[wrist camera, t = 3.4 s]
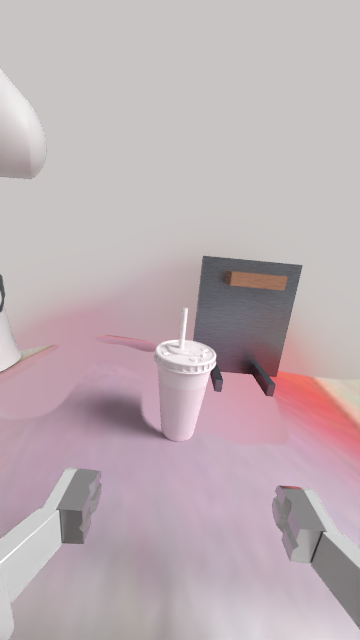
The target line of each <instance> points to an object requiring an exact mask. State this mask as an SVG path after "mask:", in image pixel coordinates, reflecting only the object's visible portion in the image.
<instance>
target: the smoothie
mask: <svg viewBox="0 0 360 640" xmlns="http://www.w3.org/2000/svg"><path fill="white" fill-rule="evenodd" d="M187 312H188V308H182V317H181V327H180V337H179V340H170V341H166V342H163V343H160V344H159V345H158V346H157V347H156V349H155V356H154V359H155V361H156V363H157V364H158V377H159V379H158V380H159V395H160V411H161V427H162V432H163V434H164V435H165V436H166V437H167V438H168V439H170V440H172V441H177V442H181V441H185V440H188V439H189V438H190V437H191V436H192V435H193V432H194V428H195V425H196V421H197V418H198V414H199V411H200V407H201V403H202V400H203V396H204V393H205V390H206V386H207V382H208V379H209V376H210V372H211V370H212V369H213V368H214V367H215V365H216V353H215V351H214V350H213V349H211V348H210V347H208V346H206V345H204V344H202V343H198V342H194V341H188V340H185V331H186V322H187Z"/></svg>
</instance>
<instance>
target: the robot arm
mask: <svg viewBox="0 0 360 640" xmlns="http://www.w3.org/2000/svg"><path fill="white" fill-rule="evenodd" d="M46 152H47V150H46V140H45V136H44V132H43V129H42V126H41V124H40V121H39V119H38V117H37V116H36V114H35V112H34V110H33V109H32V107H31V105H30V104H29V102H28V101H27V100H26V98H25V97H24V96H23V95H22V94H21V93H20V92H19V91H18V90H17V88H16V87H15V86H14V85H13V84H12V82H11V81H10V80H9V79H8V78H7V76H6V75H5V74H4V72H3V71H2V69H1V68H0V177H9V178H23V179H32V178H34V177H35V176H36V175H37V174H38V173H39V172H40V171H41V169H42V168H43V166H44V163H45V159H46ZM4 297H5V292H4V282H3V279H2V276H1V275H0V372H1V371H3V370H5V369H7V368H9V367H10V366H12V365H13V364H15V363H16V362H17V361H18V360H19V359H20V358H21V352H20V351H19V349H18V347H17V345H16V341H15V339H14V337H13V334H12V332H11V328H10V325H9V321H8V318H7V315H6V311H5V308H4V305H3V304H4ZM100 479H101V471H96V470H87V469H79V468H67V469H66V470H65V471H64V472H63V474H62V475H61V477H60V479H59V480H58V482H57V484H56V486H55V487H54V489H53V491H52V492H51V494H50V496H49V497H48V499H47V501H46V502H45V504H44V506H43V507H42V508H38V509H37V510H36V511H34V512H33V513H32V514H31V515H29V516H28V517H27V518H26V519H24V520H23V521H22V522H21V523H19V524H18V525H17V526H16V527H14V528H13V529H12V530H11V531H10V532H8V533H7V534H6V535H5V536H3V537H2V538H1V539H0V640H9V638H10V636H11V634H12V632H13V630H14V628H15V627H14V618H13V613H12V608H11V603H12V602H13V601H14V600H15V598H16V597H17V596H18V595H19V594H20V593H21V592H22V590H23V589H24V588H25V587H26V586H27V585H28V583H29V582H30V581H31V580H32V579H33V578H34V577H35V575H36V574H37V573H38V572H39V571H40V570H41V568H42V567H43V566H44V565H45V564H46V563H47V561H48V560H49V559H50V558H51V557H52V556H53V555H54V553H55V552H56V551H57V550H58V549H59V548H60V546H61V545H62V543H68V544H84V541H85V539H86V536H87V533H88V530H89V528H90V525H91V515H92V514H93V513H94V512H95V511H96V508H97V506H98V503H99V499H100V495H101V483H100V482H99V481H100ZM275 492H276V494H277V496H276V497H275V498H274V499H273V503H272V510H273V516H274V520H275V522H276V525H277V527H278V528H279V529H280V530H281V531H282V533H283V535H282V542H283V544H284V547H285V550H286V552H287V555H288V558H289V561H292V562H300V563H309V564H311V566H312V567H313V569H314V570H315V571H316V573H317V574H318V575H319V577H320V578H321V579H322V580H323V582H324V583H325V584H326V586H327V587H328V588H329V590H330V591H331V592H332V594H333V595H334V596H335V597H336V599H337V600H338V601H339V603H340V604H341V605H342V607H343V608H344V609H345V611H346V612H347V613H348V615H349V616H350V617H351V618H352V620H353V621H354V622H355V624H356V625H357V626H358V628H359V629H360V549H359V548H358V547H357V546H356V545H355V544H354V543H353V542H352V541H351V540H350V539H349V538H348V537H346V536H345V535H344V534H342V533H339V531H338V529H337V528H336V526H335V524H334V523H333V521H332V519H331V518H330V516H329V514H328V513H327V511H326V509H325V508H324V506H323V504H322V503H321V501H320V499H319V498H318V496H317V494H316V493H315V491H314V490H313V489H312V488H301V487H293V486H277V487H276V491H275Z"/></svg>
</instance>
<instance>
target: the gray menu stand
mask: <svg viewBox="0 0 360 640" xmlns="http://www.w3.org/2000/svg"><path fill="white" fill-rule="evenodd" d="M301 269H302V265H293V264H283V263H273V262H262V261H252V260H241V259H231V258H220V257H209V256H203V259H202V268H201V276H200V285H199V294H198V303H197V312H196V320H195V329H194V338H193V341H194V342H198V343H202V344H204V345H206V346H208V347H210V348H211V349H213V350H214V351H215V353H216V365H215V367H214V368H213V369H212V370H211V372H210V375H211V379H212V382H213V386H214V391H217V392H221V390H222V384H223V379H222V376H221V373H220V371H221V372H232V373H243V374H252V375H253V376H254V378H255V379H256V381H257V382H258V384H259V385H260V387H261V388H262V390H263V392H264V393H265V395H266V396H273V393H274V389H275V384H274V382H273V381H272V380H271V379H270V377H269V376H277V372H278V367H279V363H280V359H281V355H282V350H283V346H284V342H285V337H286V333H287V329H288V325H289V320H290V316H291V312H292V307H293V303H294V299H295V295H296V291H297V286H298V282H299V278H300V274H301Z"/></svg>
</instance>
